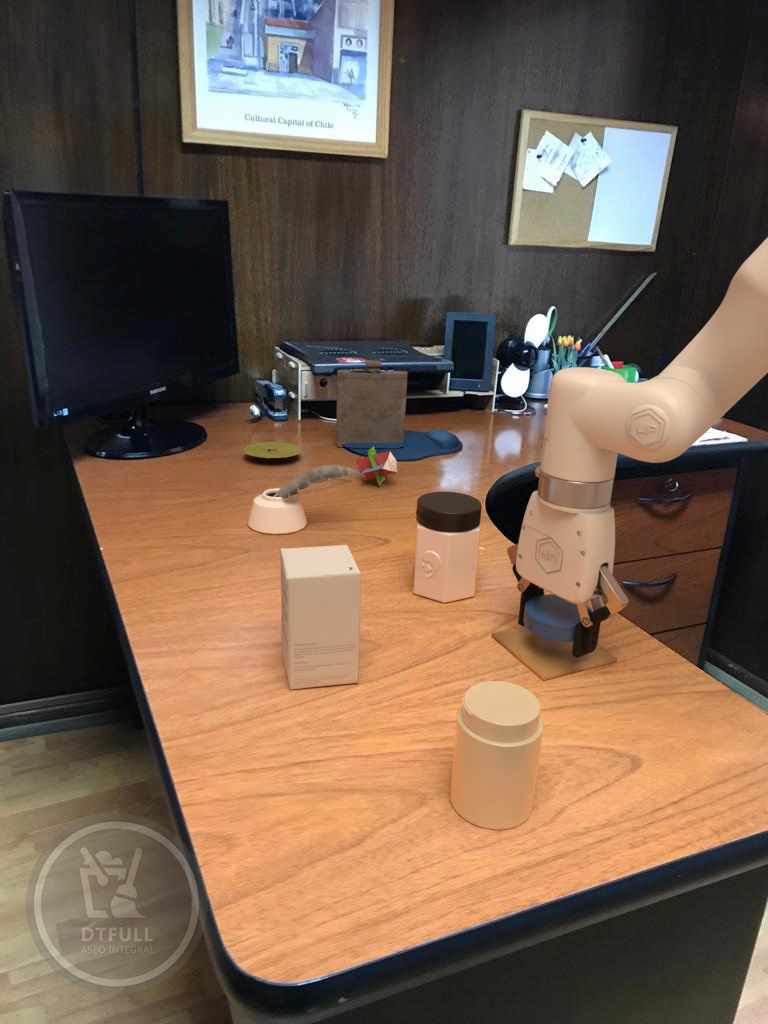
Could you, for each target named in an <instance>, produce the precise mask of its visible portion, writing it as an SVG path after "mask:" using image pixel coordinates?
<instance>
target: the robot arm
mask: <svg viewBox="0 0 768 1024" xmlns="http://www.w3.org/2000/svg"><path fill="white" fill-rule="evenodd" d="M767 374H768V236H767V237H766V238H765V239H764V240H763V241H762V242H761V244H759V245H758V247H757V248H756V249H755V250H754V251H753V252H752V253H751V254H750V255H749V257H747V258H746V260H745V261H744V262H743V263H742V264H741V265H740V267H739V268H738V269H737V271H736V273H735V274H734V276H733V278H732V279H731V281H730V283H729V286H728V288H727V291H726V293H725V296H724V298H723V300H722V302H721V303H720V305H719V307H718V308H717V310H716V311H715V312H714V314H713V315H712V316H711V318H710V319H709V320H708V321H707V322H706V323H705V325H704V326H703V327H702V328H701V330H700V331H699V332H698V333H697V334H696V335H695V336H694V337H693V339H692V340H691V341H690V342H688V344H687V345H686V346H685V347H684V348H683V349H682V351H680V352H679V353H678V354H677V355H676V356H675V358H674V359H673V360H672V361H671V362H670V363H669V364H668V365H667V366H666V367H665V368H664V369H663V370H662V371H661V372H660V373H659V374H658V375H656V376H653V377H652V378H650V379H647V380H643V381H640V382H626V380H625V378H624V376H622V375H621V374H620V373H617V372H615V371H612V370H608V369H603V368H597V367H588V366H586V367H585V366H584V367H583V366H573V367H564V368H562V369H560V370H558V371H556V372H555V373H554V375H552V377H551V379H550V383H549V389H548V396H547V406H546V413H545V423H544V433H543V442H542V450H541V459H540V465H538V466H537V467H536V468H535V469H534V475H535V477H537V478H539V479H538V484H537V485H538V486H537V490H534V491H533V492H532V493H531V495H530V498H529V500H528V503H527V505H526V509H525V512H524V516H523V518H522V523H521V529H520V533H519V538H518V542H517V543H515V544H513V545H510V546H509V547H507V549H506V553H507V555H508V558H509V562H510V563H511V565H512V572H513V574H514V577H515V579H516V581H517V584H516V588H517V591H518V592H519V593H521V594H520V602H519V609H518V618H517V624H518V625H519V626H520V627H523V626H525V625H524V611H525V604H526V602H527V601H528V600H529V599H531V598H533V597H536V596H540V595H545V591H547V592H548V593H551V595H556V596H558V597H560V598H562V599H564V600H566V601H568V602H571V603H574V604H576V605H577V608H578V612H579V615H580V619H581V622H579V623H577V624H576V627H575V634H574V641H573V649H572V654H573V656H575V657H576V658H579V657H581V656H584V655H586V654H588V653H591V652H593V651H594V650H595V649H596V647H597V645H598V642H599V636H600V629H601V623H602V622H605V621H606V620H608V619H610V618H612V617H614V616H616V615H617V614H618V613H619V612H621V611H622V610H623V609H624V608H625V607H627V606H628V605H629V603H630V601H629V598H628V596H627V595H626V594H625V592H624V591H623V589H622V588H621V586H620V584H619V583H618V581H617V579H616V578H615V577H614V575H613V574H614V573H613V572H614V565H615V564H614V563H615V553H616V552H615V551H616V518H615V517H616V516H615V508H613V506H612V507H611V502H612V496H613V488H614V482H615V476H616V469H617V462H618V456H619V455H621V456H624V457H628V458H631V459H633V460H637V461H640V462H644V463H651V464H653V463H654V464H659V463H666V462H669V461H672V460H674V459H676V458H678V457H680V456H681V455H683V454H684V453H685V452H686V451H688V450H689V448H691V447H692V446H693V445H694V444H695V443H696V442H697V441H698V440H699V439H700V438H701V437H702V436H703V435H705V434H706V433H707V432H708V431H709V430H710V429H711V428H712V427H713V426H715V424H716V423H718V421H720V419H721V418H722V417H723V416H724V415H725V414H726V413H727V412H728V411H729V410H731V408H732V407H734V406H735V405H736V404H737V403H738V401H740V400H741V399H742V398H743V397H744V396H745V395H746V394H747V393H748V392H749V391H750V390H751V389H752V388H753V387H755V386H756V384H757V383H759V381H760V380H762V379H763V378H764V377H765V376H766V375H767ZM602 596H605V597H606V599H607V602H605V603H604V601H603V597H602ZM589 601H590V603H591V604H589ZM590 605H591V606H590ZM591 607H592V611H593V612H591V611H590V608H591Z"/></svg>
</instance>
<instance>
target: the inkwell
mask: <svg viewBox="0 0 768 1024" xmlns="http://www.w3.org/2000/svg"><path fill="white" fill-rule="evenodd" d="M342 477H360V478H362V477H365V476H364V475H363V474H362V473H361V472H360V470H357V469H355V468H353V467H350V466H346V465H338V464H326V465H322V466H319V467H313V468H312V469H309V470H307V471H305V472H302V473H300V474H299V475H296V476H295V477H293V478H292V479H290V480H289V481H288V482H286V483H285V484H283V486H281V487H276V488H275V487H274V488H268V489H265V490H264V491H263V492H262V493H261V494H258V495H256V496H255V497H254V498H253V500H252V503H251V507H250V510H249V514H248V517H247V526H248V527H249V528H250V529H251V530H252V531H254V532H257V533H261V534H266V535H288V534H292V533H297V532H299V531H301V530H303V529H305V527H306V526H307V525H308V519H307V515H306V512H305V509H304V506H303V501H302V500H301V499H302V498H301V497H300V496H299V495H298V494H300V493H301V490H305V489H307V488H309V487H310V486H312V484H320V483H325V482H328V481H330V479H338V478H342Z"/></svg>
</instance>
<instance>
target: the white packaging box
mask: <svg viewBox="0 0 768 1024" xmlns="http://www.w3.org/2000/svg"><path fill="white" fill-rule="evenodd" d="M279 551H280V553H279V554H280V555H279V556H280V557H279V558H280V561H279V562H280V595H281V596H280V598H281V599H280V602H281V603H280V605H281V606H280V607H281V608H280V609H281V611H280V613H281V614H280V615H281V616H280V617H281V618H280V619H281V620H280V622H281V632H280V633H281V637H280V639H281V640H280V641H281V654H282V659H283V663H284V664H283V665H284V669H285V673H286V678H287V684H288V687H289V690H290V691H291V690H298V689H300V690H301V689H307V688H308V689H309V688H319V687H328V686H336V685H337V686H338V685H349V684H358V683H359V675H360V673H359V672H360V671H359V670H360V669H359V668H360V639H361V637H360V634H361V604H362V603H361V599H362V572H361V571H360V569H359V567H358V565H357V563H356V561H355V558H354V556H353V554H352V552H351V550H350V547H349V546H348V545H347V544H339V545H337V544H336V545H323V546H321V545H320V546H306V547H304V546H303V547H289V548H288V547H287V548H286V547H285V548H283V547H282V548H280V550H279Z"/></svg>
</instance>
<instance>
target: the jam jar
mask: <svg viewBox="0 0 768 1024" xmlns="http://www.w3.org/2000/svg"><path fill="white" fill-rule="evenodd" d="M461 700H462V701H461V703H462V704H461V705H460V707H459V708H458V710H457V714H456V725H455V726H456V727H455V737H454V746H453V747H454V748H453V758H452V768H451V769H452V771H451V779H450V780H451V782H450V791H449V794H450V795H449V799H450V802H451V805H452V807H453V809H454V810H455V812H456V813H457V814H458V815H459V816H460V817H461V818H462V819H464V820H465V821H467V822H468V823H470V824H472V825H475V826H476V827H480V828H483V829H488V830H495V831H497V830H498V831H501V830H510V829H513V828H516V827H519V826H520V825H522V824H524V823H525V822H526V821H527V820H528V819H529V818H530V816H531V815H532V812H533V808H534V807H533V806H534V800H535V793H536V786H537V780H538V779H537V778H538V771H539V765H540V764H539V763H540V756H541V748H542V743H543V734H544V728H545V727H544V721H543V717H542V716H541V711H542V707H541V702H540V700H539V698H538V697H537V696H536V695H535V694H534V693H533V692H532V691H531V690H530V689H527V688H525V687H524V686H522V685H519V684H516V683H513V682H509V681H504V680H488V681H487V680H486V681H481V682H478V683H476V684H473V685H472V686H471V687H469V688H468V689H467V690H466V691H465V692H464V694H463V696H462V698H461Z"/></svg>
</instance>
